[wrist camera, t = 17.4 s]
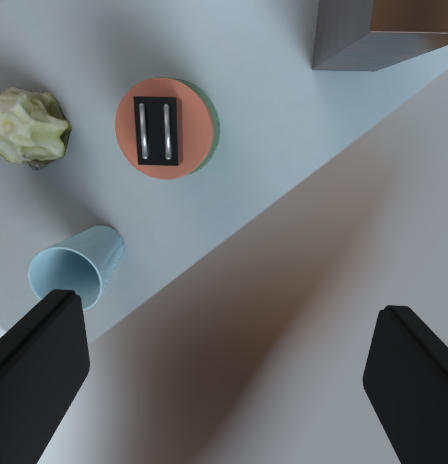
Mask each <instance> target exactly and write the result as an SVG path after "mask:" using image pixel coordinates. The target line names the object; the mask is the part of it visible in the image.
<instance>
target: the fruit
mask: <svg viewBox="0 0 448 464" xmlns="http://www.w3.org/2000/svg"><path fill="white" fill-rule="evenodd" d="M71 131H72V128H71V126H70V122H69V121H67V120H66V118H65V116H64V115H63V113H62V110H61V108H60V106H59V103H58V102H57V100H56V99H55V98H54V96H53V95H51V94H50V93H48V92H44V93H39V92H30V91H27V90H22V89H19V88H17V87H9V88H7V89H6V90H5V91H3V92H2V93H0V155H1V156H3V157H4V159H6V160H7V161H8V162H11V163H18V164H22V163H24V162H27V163H28V164H29V165H30V166H31V167H32V168H33V169H34V170H39V169H40V168H42V167H43V166H44V165H46V164H48V163H49V162H51V161H54V160H57V159H60V158H62V157H63V156H64V155H65V152H66V148H67V144H68V139H69V135H70V132H71Z"/></svg>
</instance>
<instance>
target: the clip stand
mask: <svg viewBox="0 0 448 464" xmlns="http://www.w3.org/2000/svg"><path fill="white" fill-rule="evenodd" d="M446 45H448V0H319V7H318V17H317V26H316V36H315V45H314V55H313V65H312V70H334V71H377V70H380V69H383V68H385V67H388V66H391V65H394V64H397V63H399V62H402V61H405V60H408V59H410V58H413V57H416V56H419V55H421V54H424V53H427V52H430V51H433V50H435V49H438V48H441V47H444V46H446Z"/></svg>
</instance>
